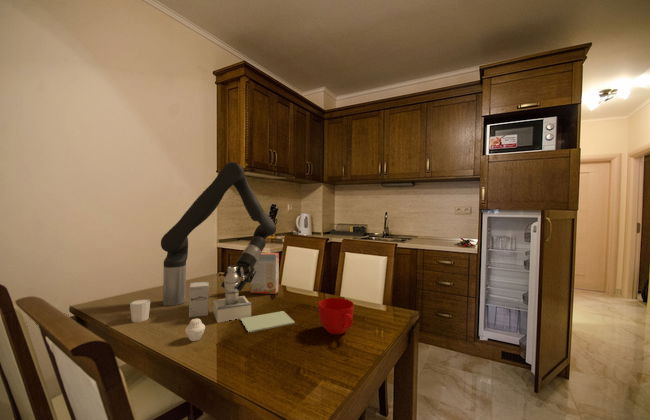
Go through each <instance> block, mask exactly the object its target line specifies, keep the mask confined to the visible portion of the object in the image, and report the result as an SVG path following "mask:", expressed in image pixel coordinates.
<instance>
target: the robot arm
mask: <svg viewBox="0 0 650 420" xmlns="http://www.w3.org/2000/svg"><path fill="white" fill-rule="evenodd" d="M231 187H234V188H235V190H236V191H237V192H238V194H239V197H240V199H241V201H242V203H243V206H244V208H245V210H246V211H247V214H248V216H249V217H250V219H251V220H252V221H253V222H257V223H259V224H258V226H257V227H256V228H255V231H254V232H253V235H252V238H251V239H250V242H248V244H247V246H246V247H245V248H244V250H243V251H242V253H241V255H240V256H239V258H238V259H237V263H236V264H235V266H237V271H236V272H237V274H238V275H239V277H240V279H241V280H240V283H239V285H238V287H237V290H238V291H239V292H241V291H243V289H244V287H245V285H246V284H247V283H249V284H250V283H251V281H252V279H253V277H254V275H255V273H256V270H255V269H254V268H253V267H254V265H255V264H256V262H257V260H258V258H259V257H260V254H261V253H263V251H264V249H265V247H266V244H267V243H266V240H267V238H268V237H271V236H273V235H275V233H276V232H277V226H276V224H275V222H274V221H273V220H272V218H271V217H270V216H269V214H267V213H266V212H265V211H264V209H263V207H262V205H261V203H260V201H259V200H258V199H257V196H256V194H255V193H254V191H253V190H252V188H251V186H250V184H249V182H248V179H247V176H246V173H245V170H244V168H243V166H242V165H240V164H239V163H238V162H234V161H230V162H227V163H226V164H224V166H223V167H222V168H221V170H220V171H219V173H218V174H217V176H216V177H215V179H214V180H213V181H212V183H210V184H209V186H207V187H206V188H205V189H204V191H203V192H201V194H200V195H199V196H198V197H197V198H196V199H195V200H194V202H192V204H191V205H190V206H189V208H188V209H187V210H186V211H185V212H184V214H183V215H182V216H181V217H180V219H179V220H178V221H177V222H176V223H175V224H174V225H173V226H172V227H171V228H170V229H169V230H168V231H167V232H166V233H165V234H164V235H163V236H162V237H161V240H160V247H161V249H162V250H163V251H165V252H167V254H166V257H165V259H164V260H163V277H162V279H163V281H162V282H163V284H162V306H163V307H164V306H178V305H180V304H181V305H182V304H184V303H185V302H186V299H187V298H186V292H187V291H186V288H187V287H186V286H187V285H186V283H187V282H186V281H187V275H186V274H187V271H186V270H187V260H188V256H189V255H188V254H189V238H188V236H189V235H190V234H191V233H192V232H193V231H194V230H195V229H196V228H198V227H199V226H200V225H202V223H204V222H205V221H206V220H208V218H209V217H210V216H211V215H212V214H213V213H214V211H215V210H216V209H217V208H218V206H219V205H220V203H221V201H222V199H223V197H224V195H225V194H226V193H227V192H228V190H230V188H231ZM229 266H233V264H229ZM227 270H228V268H227V269H226V270H225V272H224V273H223V274H222V276H223V278H225V276H226V275H227V273H228V272H227ZM221 287H222V288H223V289H225V285H224V280H223V281H222V283H221Z"/></svg>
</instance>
